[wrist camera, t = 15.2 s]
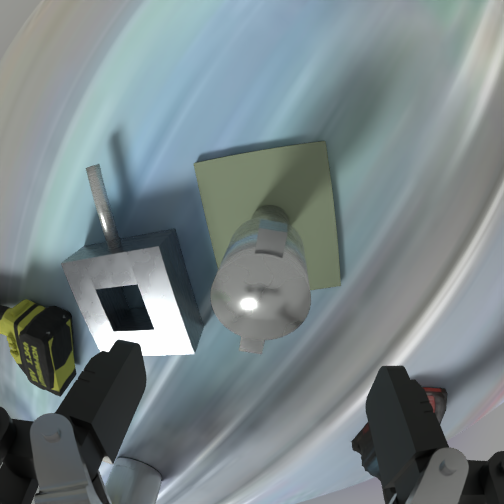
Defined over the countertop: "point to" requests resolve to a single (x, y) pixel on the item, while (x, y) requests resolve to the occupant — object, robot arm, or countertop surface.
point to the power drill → (366, 445)
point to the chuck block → (132, 273)
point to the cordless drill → (41, 343)
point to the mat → (275, 200)
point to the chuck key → (262, 280)
